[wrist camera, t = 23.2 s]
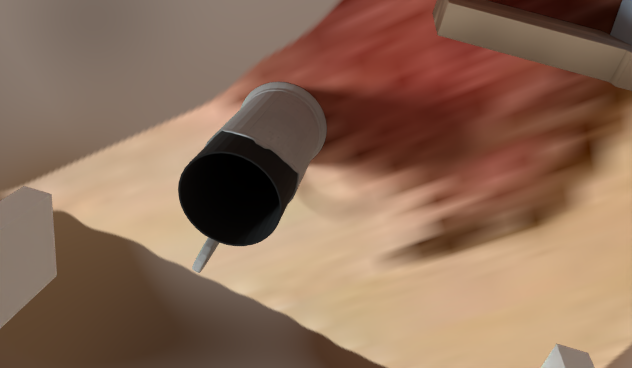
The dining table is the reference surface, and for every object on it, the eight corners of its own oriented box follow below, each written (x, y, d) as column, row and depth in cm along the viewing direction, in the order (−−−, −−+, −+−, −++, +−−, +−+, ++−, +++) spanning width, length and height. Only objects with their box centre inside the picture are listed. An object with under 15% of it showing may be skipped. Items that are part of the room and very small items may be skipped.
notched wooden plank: (441, -13, 38) (449, 4, 28) (627, 37, 37) (702, 72, 27) (432, 13, 39) (438, 38, 29) (614, 62, 38) (681, 104, 28)
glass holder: (343, 112, 44) (313, 185, 31) (278, 220, 51) (231, 317, 38) (260, 64, 43) (194, 118, 30) (206, 180, 50) (133, 265, 37)
